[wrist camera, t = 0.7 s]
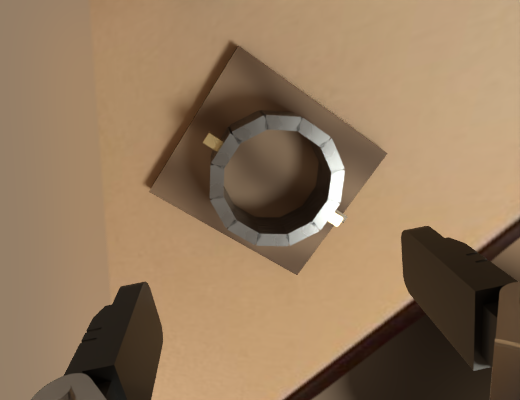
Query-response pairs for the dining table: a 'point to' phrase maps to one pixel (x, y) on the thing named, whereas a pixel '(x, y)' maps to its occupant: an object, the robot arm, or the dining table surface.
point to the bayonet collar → (297, 221)
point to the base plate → (262, 157)
